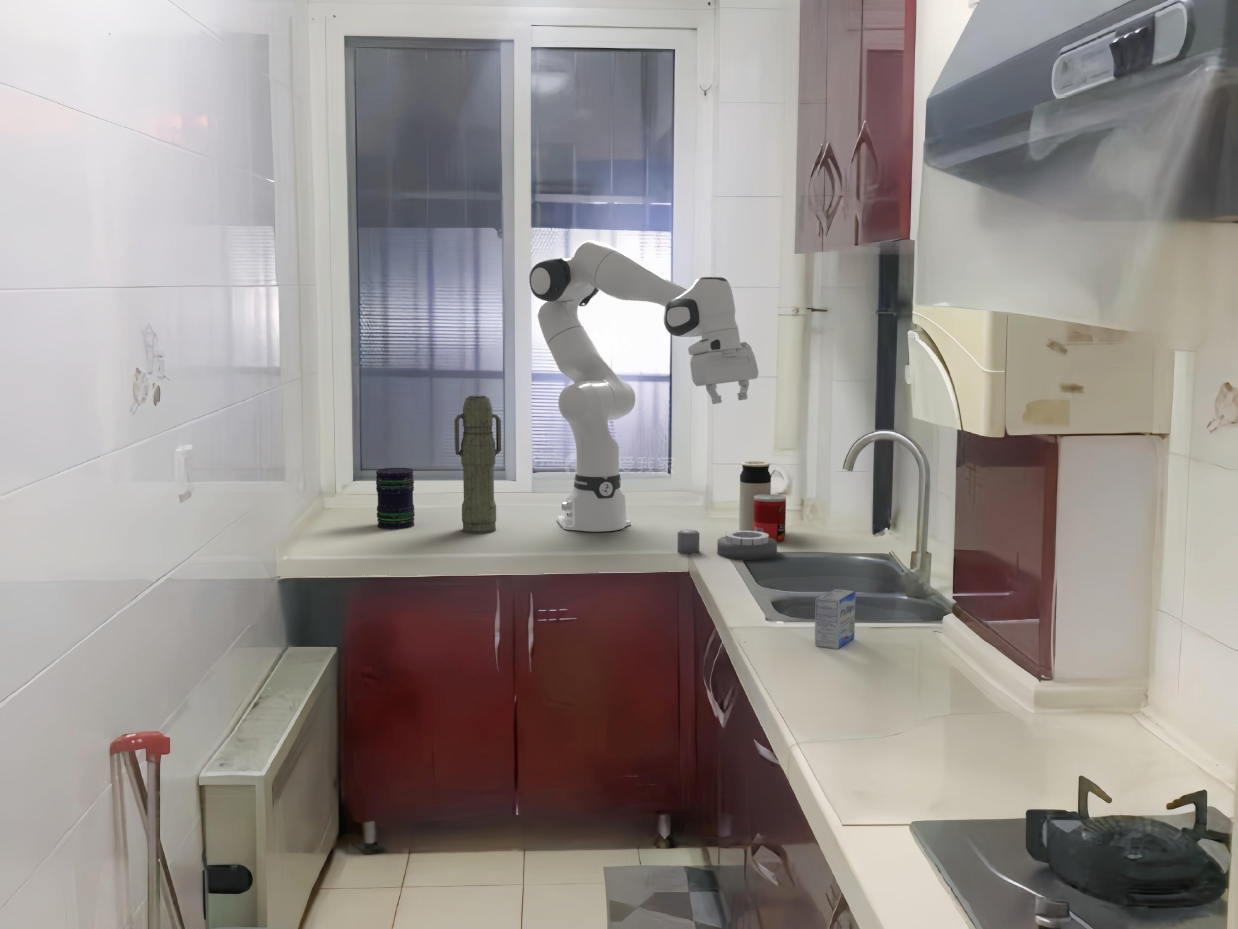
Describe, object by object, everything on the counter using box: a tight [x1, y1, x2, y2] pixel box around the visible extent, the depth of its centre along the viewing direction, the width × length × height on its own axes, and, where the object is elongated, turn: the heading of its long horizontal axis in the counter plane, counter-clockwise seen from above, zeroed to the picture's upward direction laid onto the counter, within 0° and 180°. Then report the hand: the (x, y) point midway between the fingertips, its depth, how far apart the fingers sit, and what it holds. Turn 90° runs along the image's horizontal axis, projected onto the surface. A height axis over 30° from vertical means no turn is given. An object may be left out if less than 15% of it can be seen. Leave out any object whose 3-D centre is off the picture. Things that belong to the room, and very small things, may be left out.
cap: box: [676, 529, 700, 555], centre depth 268 cm, size 5×5×5 cm
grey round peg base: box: [716, 530, 778, 561], centre depth 267 cm, size 14×14×4 cm
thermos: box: [454, 395, 502, 534], centre depth 292 cm, size 9×12×35 cm
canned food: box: [753, 493, 787, 543], centre depth 282 cm, size 8×8×11 cm
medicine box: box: [814, 588, 856, 651], centre depth 195 cm, size 8×4×9 cm, turn 148°
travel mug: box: [738, 460, 772, 531], centre depth 292 cm, size 8×8×18 cm
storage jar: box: [375, 467, 415, 530], centre depth 299 cm, size 10×10×15 cm
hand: (730, 401), depth 267 cm, fingers open, 8 cm apart
